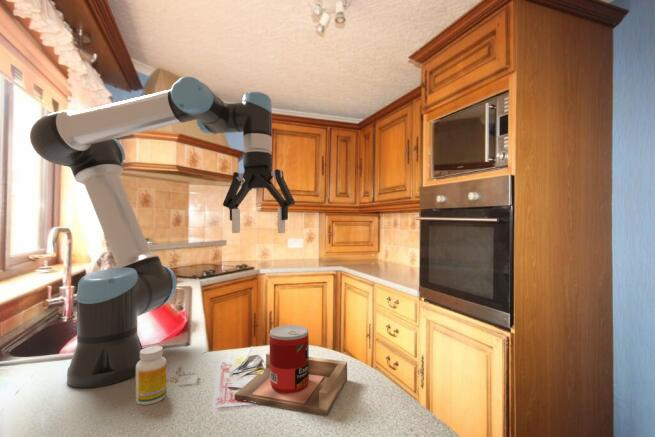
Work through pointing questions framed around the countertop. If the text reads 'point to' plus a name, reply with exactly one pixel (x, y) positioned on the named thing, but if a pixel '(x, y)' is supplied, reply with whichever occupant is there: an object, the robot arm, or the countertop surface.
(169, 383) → the countertop surface
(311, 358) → the wooden tray
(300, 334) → the canned food
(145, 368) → the supplement bottle
